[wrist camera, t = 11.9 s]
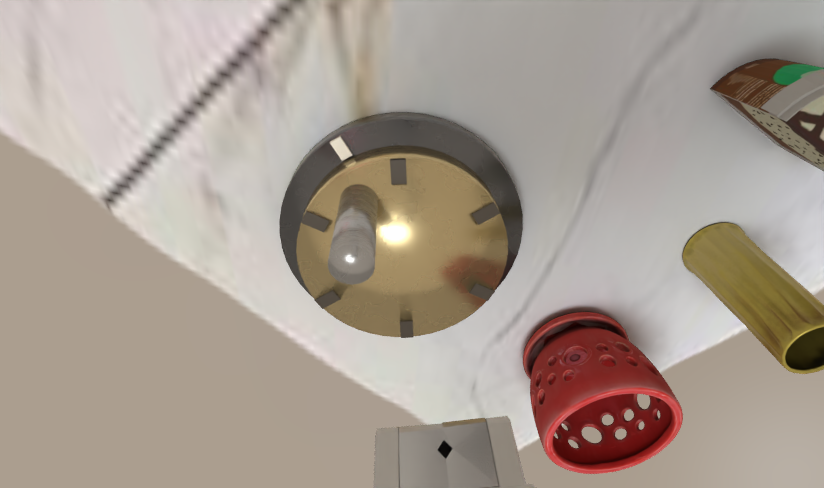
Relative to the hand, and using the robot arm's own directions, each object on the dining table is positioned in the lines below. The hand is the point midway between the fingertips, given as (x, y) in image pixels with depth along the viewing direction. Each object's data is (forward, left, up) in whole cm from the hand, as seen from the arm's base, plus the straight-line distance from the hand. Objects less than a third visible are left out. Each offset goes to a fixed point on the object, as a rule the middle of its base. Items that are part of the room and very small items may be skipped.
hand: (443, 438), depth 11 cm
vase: (-16, +31, -33) cm, 48 cm away
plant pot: (+1, +35, -33) cm, 48 cm away
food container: (-25, +18, -33) cm, 45 cm away
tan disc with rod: (+8, +11, -31) cm, 34 cm away
